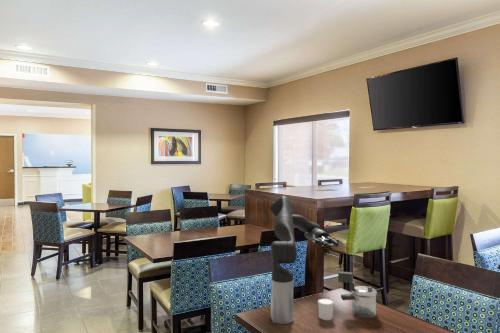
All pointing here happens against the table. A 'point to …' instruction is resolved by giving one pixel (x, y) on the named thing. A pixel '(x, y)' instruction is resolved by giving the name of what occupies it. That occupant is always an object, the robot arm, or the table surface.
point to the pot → (362, 305)
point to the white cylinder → (325, 308)
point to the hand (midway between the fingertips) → (331, 244)
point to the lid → (356, 290)
